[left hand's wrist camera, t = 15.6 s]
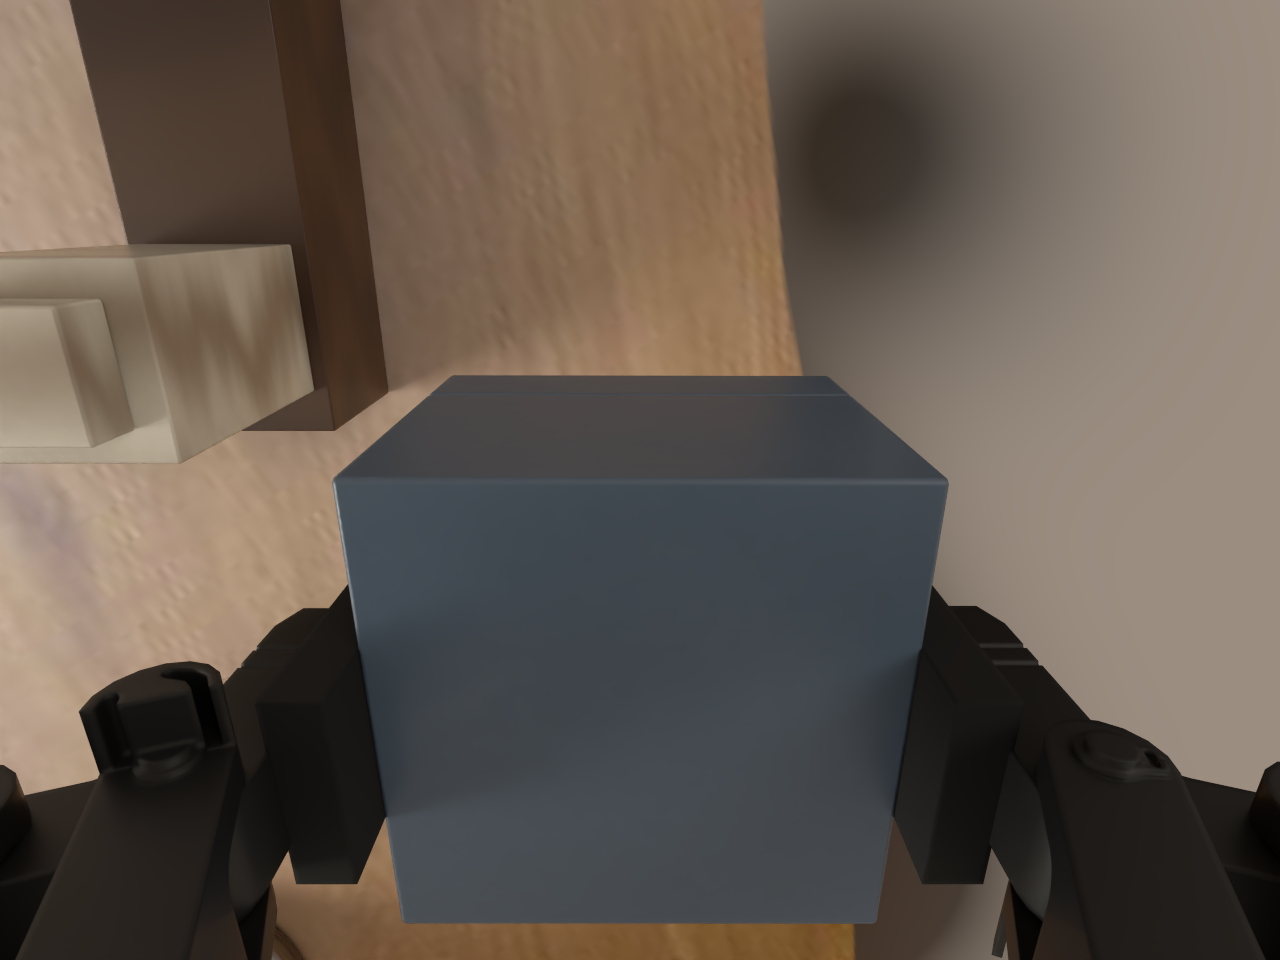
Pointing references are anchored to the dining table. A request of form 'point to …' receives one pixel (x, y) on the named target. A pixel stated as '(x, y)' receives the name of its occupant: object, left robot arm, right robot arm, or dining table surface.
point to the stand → (201, 245)
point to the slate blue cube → (639, 646)
